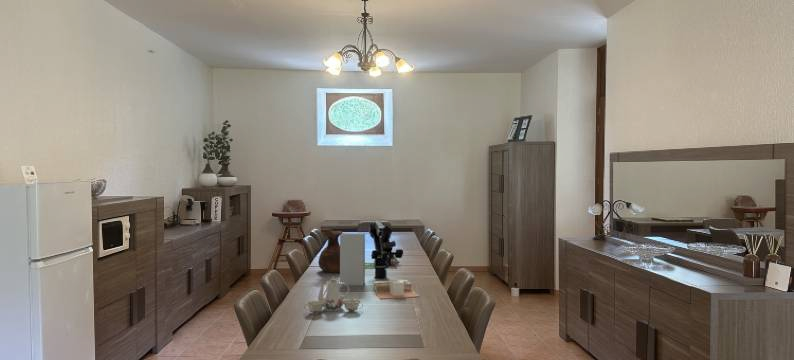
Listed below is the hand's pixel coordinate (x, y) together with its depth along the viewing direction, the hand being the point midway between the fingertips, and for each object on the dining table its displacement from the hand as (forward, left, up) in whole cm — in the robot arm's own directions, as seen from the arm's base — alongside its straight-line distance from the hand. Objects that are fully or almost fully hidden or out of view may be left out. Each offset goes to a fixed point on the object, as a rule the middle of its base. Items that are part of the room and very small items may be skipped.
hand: (389, 265), depth 297 cm
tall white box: (-24, +1, -13) cm, 27 cm away
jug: (-49, +31, -13) cm, 59 cm away
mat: (+10, -17, -12) cm, 23 cm away
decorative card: (-25, +57, -13) cm, 64 cm away
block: (+7, -12, -8) cm, 17 cm away
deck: (+3, -6, -12) cm, 14 cm away
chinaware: (-12, -55, -13) cm, 57 cm away
